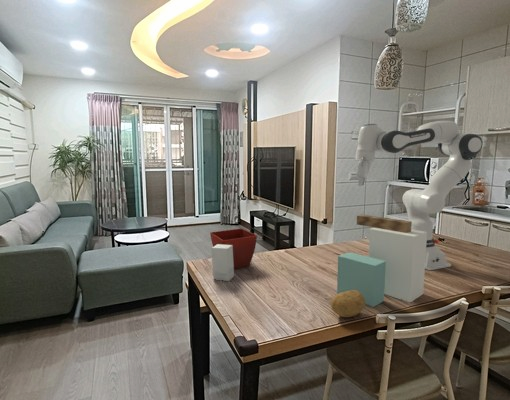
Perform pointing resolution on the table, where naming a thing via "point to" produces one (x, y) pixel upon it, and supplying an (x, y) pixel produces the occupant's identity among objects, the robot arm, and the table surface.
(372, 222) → the rail
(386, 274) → the stand
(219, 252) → the skincare box
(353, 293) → the potato
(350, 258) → the teal box
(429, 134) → the robot arm
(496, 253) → the table surface
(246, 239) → the plant pot
